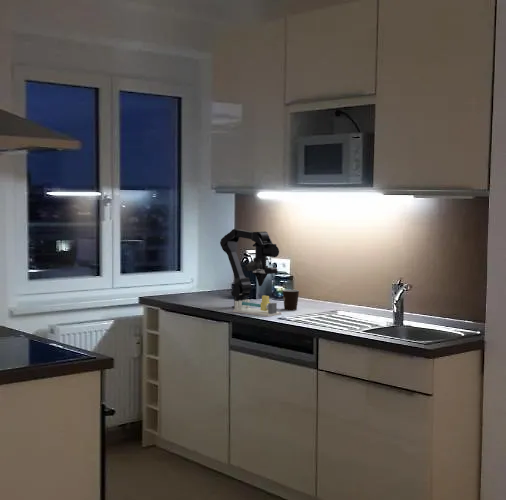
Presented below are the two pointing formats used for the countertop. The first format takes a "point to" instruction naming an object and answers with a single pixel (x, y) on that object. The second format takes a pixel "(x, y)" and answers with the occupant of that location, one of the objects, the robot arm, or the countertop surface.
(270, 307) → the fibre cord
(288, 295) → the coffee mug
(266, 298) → the sleeve
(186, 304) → the countertop surface
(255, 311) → the cable comb
